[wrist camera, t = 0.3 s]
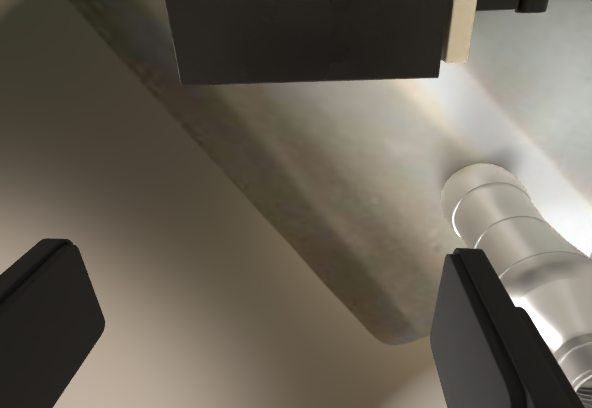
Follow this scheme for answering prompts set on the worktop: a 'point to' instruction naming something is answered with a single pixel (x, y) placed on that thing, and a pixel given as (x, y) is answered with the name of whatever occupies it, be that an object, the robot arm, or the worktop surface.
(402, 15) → the black rectangular box
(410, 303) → the worktop surface
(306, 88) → the worktop surface
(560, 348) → the plastic bottle
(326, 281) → the worktop surface
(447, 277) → the robot arm
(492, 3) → the beige drawer
